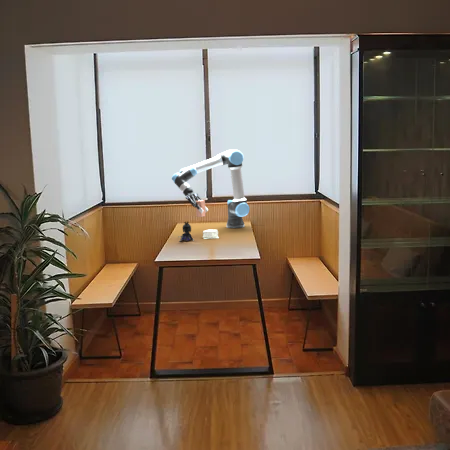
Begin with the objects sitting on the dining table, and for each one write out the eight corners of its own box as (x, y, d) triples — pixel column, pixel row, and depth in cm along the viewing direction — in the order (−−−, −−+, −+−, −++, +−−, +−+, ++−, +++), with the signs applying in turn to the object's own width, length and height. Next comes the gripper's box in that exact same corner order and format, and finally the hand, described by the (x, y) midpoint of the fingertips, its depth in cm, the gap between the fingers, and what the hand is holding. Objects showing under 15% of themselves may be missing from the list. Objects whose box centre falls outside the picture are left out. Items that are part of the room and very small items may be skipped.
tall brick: (200, 215, 415) (199, 200, 413) (205, 215, 412) (204, 200, 410) (196, 216, 411) (195, 201, 409) (201, 216, 408) (200, 201, 406)
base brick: (209, 235, 409) (209, 229, 409) (218, 236, 405) (217, 230, 404) (203, 237, 403) (202, 231, 402) (211, 238, 398) (211, 231, 398)
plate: (216, 236, 410) (216, 235, 410) (219, 239, 400) (219, 237, 400) (202, 238, 409) (202, 236, 408) (204, 240, 398) (204, 239, 398)
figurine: (194, 242, 392) (193, 222, 390) (177, 242, 395) (176, 222, 392) (197, 240, 400) (195, 220, 398) (181, 240, 403) (179, 220, 400)
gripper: (191, 191, 425) (209, 213, 418) (176, 194, 410) (194, 216, 404) (196, 185, 421) (214, 206, 414) (181, 187, 406) (200, 209, 400)
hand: (204, 211), depth 409 cm, fingers closed on tall brick, 5 cm apart
